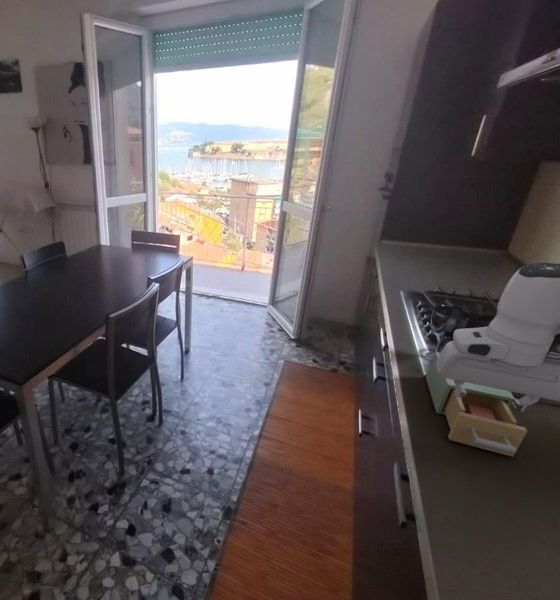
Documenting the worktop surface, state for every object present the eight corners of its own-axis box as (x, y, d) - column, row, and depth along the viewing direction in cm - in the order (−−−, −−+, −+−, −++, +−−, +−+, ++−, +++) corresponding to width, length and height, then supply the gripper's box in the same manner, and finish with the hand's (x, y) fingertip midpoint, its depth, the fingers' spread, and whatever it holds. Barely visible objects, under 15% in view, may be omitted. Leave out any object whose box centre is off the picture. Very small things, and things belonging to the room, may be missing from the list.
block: (490, 436, 74) (497, 422, 72) (466, 430, 76) (472, 416, 74) (484, 423, 77) (491, 409, 76) (461, 418, 79) (467, 404, 77)
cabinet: (499, 429, 78) (515, 399, 75) (435, 414, 83) (447, 384, 79) (479, 390, 90) (492, 362, 87) (425, 378, 95) (435, 351, 91)
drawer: (521, 473, 67) (536, 447, 64) (453, 454, 72) (465, 429, 69) (491, 413, 82) (502, 389, 79) (436, 400, 86) (445, 377, 83)
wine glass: (455, 368, 99) (475, 320, 92) (422, 362, 101) (438, 316, 95) (446, 353, 105) (463, 308, 99) (415, 348, 108) (430, 304, 102)
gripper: (579, 349, 66) (547, 407, 72) (445, 328, 75) (426, 381, 80) (598, 368, 61) (562, 428, 67) (452, 342, 69) (431, 398, 75)
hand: (487, 402), depth 74 cm, fingers open, 8 cm apart
